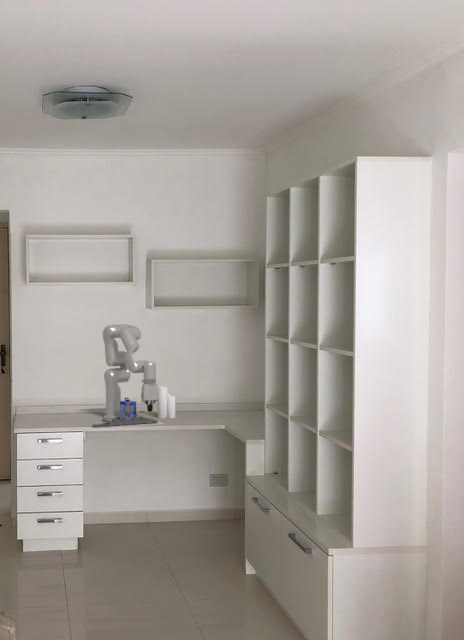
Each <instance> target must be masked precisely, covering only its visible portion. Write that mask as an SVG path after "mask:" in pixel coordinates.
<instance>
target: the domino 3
mask: <svg viewBox="0 0 464 640" xmlns="http://www.w3.org/2000/svg"><path fill="white" fill-rule="evenodd" d="M111 419H112V420H111V421H113V422H117V423H120V424H126V425H130V423H129V422H125V421H122V420H120V419H119V418H111Z"/></svg>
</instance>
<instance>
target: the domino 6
mask: <svg viewBox="0 0 464 640" xmlns="http://www.w3.org/2000/svg"><path fill="white" fill-rule="evenodd" d="M139 419H141V420H145V421H149V422H154V423H158V421H159V420H157V419H152V418H150V417H144V416H141V415H140V417H139Z"/></svg>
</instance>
